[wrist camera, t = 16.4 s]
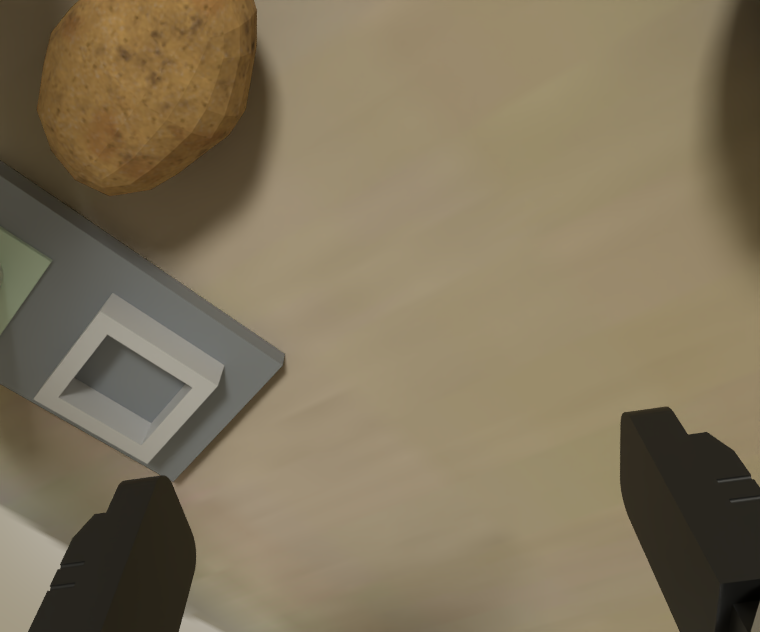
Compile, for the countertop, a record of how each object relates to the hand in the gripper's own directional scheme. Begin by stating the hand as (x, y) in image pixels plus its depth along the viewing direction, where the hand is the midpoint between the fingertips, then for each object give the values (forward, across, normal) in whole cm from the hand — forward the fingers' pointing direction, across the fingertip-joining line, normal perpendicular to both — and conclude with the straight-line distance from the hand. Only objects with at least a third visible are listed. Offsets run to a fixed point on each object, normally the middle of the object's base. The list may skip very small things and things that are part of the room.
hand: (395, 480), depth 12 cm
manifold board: (+33, +23, +12) cm, 42 cm away
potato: (+33, +11, -4) cm, 35 cm away
